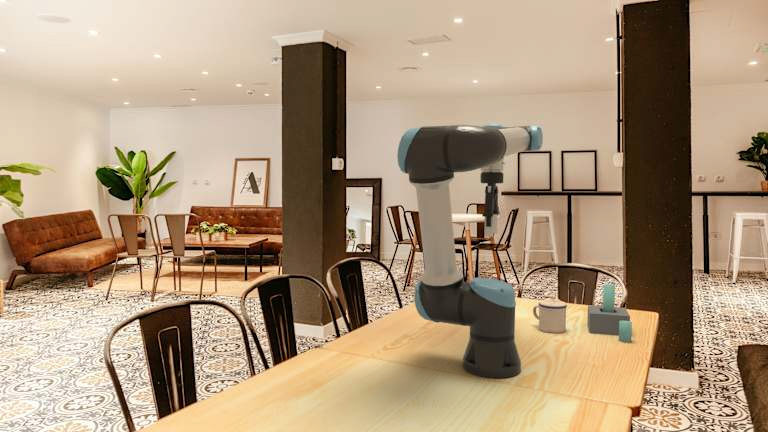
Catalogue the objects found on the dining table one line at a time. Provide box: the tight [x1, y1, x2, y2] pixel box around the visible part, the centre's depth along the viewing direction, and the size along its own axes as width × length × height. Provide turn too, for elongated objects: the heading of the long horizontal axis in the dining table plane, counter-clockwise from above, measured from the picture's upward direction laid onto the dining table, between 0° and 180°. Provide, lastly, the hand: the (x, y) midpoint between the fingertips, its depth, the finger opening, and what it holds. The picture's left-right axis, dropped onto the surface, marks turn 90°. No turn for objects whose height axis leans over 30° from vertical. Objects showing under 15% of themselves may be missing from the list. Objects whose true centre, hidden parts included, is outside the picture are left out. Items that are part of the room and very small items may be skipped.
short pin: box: [618, 320, 633, 344], centre depth 165 cm, size 4×4×6 cm
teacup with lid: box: [532, 294, 568, 334], centre depth 179 cm, size 12×9×12 cm
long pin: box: [602, 284, 616, 313], centre depth 177 cm, size 4×4×15 cm
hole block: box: [586, 305, 631, 336], centre depth 178 cm, size 12×12×6 cm
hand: (491, 235), depth 178 cm, fingers open, 13 cm apart
